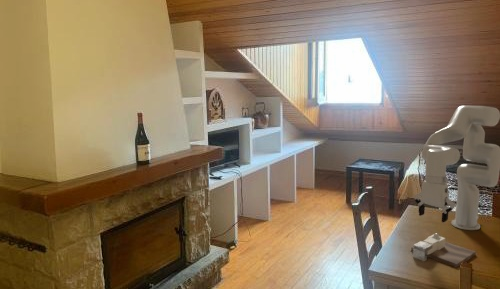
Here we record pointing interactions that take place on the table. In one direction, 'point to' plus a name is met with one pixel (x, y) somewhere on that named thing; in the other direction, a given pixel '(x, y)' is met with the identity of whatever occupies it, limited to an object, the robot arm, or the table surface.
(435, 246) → the link
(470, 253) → the board
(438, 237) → the cylinder
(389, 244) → the table surface
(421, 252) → the block
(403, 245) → the table surface
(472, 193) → the robot arm
